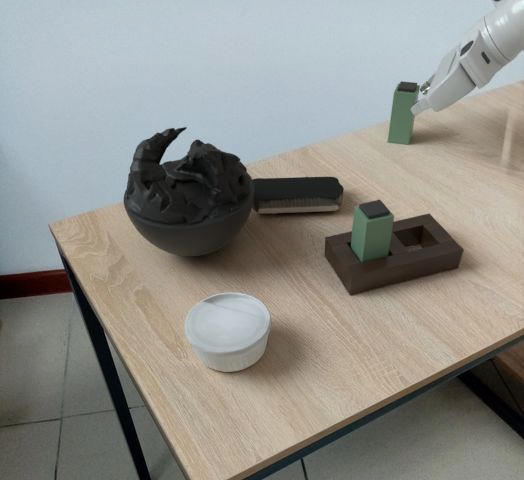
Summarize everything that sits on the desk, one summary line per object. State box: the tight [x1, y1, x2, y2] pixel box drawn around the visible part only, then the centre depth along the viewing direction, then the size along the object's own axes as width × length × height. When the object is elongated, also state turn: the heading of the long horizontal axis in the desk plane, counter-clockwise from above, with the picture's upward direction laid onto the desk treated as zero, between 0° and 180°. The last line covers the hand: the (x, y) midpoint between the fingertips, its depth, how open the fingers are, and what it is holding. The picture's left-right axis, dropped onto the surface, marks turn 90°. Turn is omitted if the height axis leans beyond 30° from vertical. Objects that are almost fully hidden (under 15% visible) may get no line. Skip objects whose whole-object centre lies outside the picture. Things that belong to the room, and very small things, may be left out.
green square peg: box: [351, 199, 395, 263], centre depth 78 cm, size 4×4×11 cm
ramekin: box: [184, 291, 272, 373], centre depth 70 cm, size 11×11×5 cm
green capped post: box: [387, 81, 421, 146], centre depth 105 cm, size 4×4×11 cm
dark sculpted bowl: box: [123, 126, 254, 257], centre depth 81 cm, size 20×20×19 cm
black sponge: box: [252, 176, 345, 215], centre depth 93 cm, size 16×8×4 cm, turn 89°
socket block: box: [323, 213, 464, 296], centre depth 81 cm, size 10×18×4 cm, turn 107°
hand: (417, 101), depth 103 cm, fingers open, 8 cm apart
